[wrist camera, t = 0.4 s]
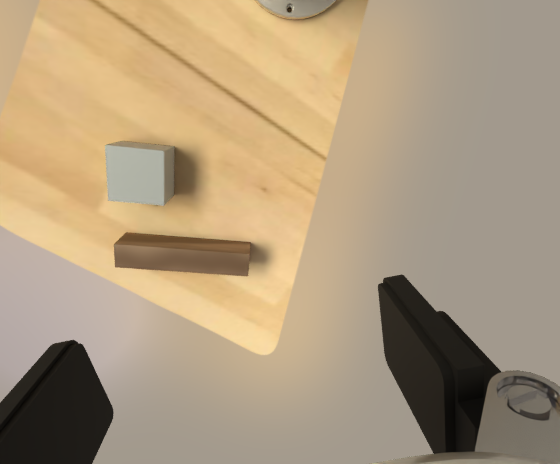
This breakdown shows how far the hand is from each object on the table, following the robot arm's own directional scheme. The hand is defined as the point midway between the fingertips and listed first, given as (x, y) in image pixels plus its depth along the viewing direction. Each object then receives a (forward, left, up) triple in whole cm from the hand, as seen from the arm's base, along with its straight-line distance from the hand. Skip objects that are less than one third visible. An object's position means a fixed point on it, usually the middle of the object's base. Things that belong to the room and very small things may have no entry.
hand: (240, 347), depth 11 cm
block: (+1, -12, -34) cm, 36 cm away
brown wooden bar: (+11, -7, -34) cm, 36 cm away
